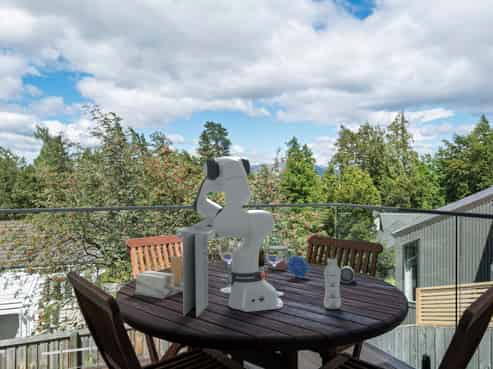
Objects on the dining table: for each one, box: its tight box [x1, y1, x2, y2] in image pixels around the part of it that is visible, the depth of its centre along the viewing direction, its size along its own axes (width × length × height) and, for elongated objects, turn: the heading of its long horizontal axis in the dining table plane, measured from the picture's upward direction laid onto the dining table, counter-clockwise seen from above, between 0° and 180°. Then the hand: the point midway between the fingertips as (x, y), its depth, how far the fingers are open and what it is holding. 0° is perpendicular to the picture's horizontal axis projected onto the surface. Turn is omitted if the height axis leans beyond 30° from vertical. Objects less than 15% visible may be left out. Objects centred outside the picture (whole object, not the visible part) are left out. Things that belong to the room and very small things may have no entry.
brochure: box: [181, 233, 209, 318], centre depth 160 cm, size 14×6×30 cm, turn 168°
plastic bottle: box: [323, 257, 342, 310], centre depth 161 cm, size 6×7×20 cm
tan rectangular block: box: [170, 255, 183, 285], centre depth 198 cm, size 4×4×13 cm
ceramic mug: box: [340, 265, 355, 284], centre depth 205 cm, size 11×8×8 cm
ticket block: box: [134, 270, 183, 300], centre depth 191 cm, size 22×17×9 cm
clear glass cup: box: [267, 245, 289, 270], centre depth 239 cm, size 11×11×12 cm
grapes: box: [287, 254, 310, 279], centre depth 211 cm, size 12×7×12 cm, turn 85°
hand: (186, 238), depth 202 cm, fingers open, 8 cm apart
